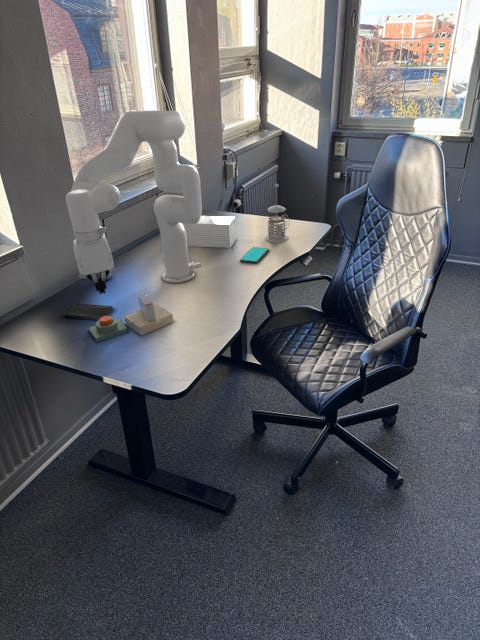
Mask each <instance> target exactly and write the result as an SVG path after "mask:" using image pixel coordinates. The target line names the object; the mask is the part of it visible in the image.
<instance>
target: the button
mask: <svg viewBox="0 0 480 640" xmlns="http://www.w3.org/2000/svg"><path fill="white" fill-rule="evenodd" d="M111 317H112V316H110V315H108V316H103V317H101V318H100V324H101V326H107V325H110V324H112V318H113V317H112V318H111Z"/></svg>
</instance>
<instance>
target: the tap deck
mask: <svg viewBox="0 0 480 640" xmlns="http://www.w3.org/2000/svg"><path fill="white" fill-rule="evenodd" d="M153 305H154V311H155V317H156V320H154V321H150V322H148V321H147V319H146V318H145V316H144V315H143V313H142V312H141V310H140V307H137V308H136V309H137V310H136V311H134V312H131V313H129V314H127V315H124V316H123V317H124V323H125V324H124V325H125V326H126V327H128V328H130V329H131V330H132V331H134V332H136V333H137V334H138V335H139V336H141V337H142V336H144V335H145V334H148V333H150V332H153V331H155V330H158V329H160V328H163V327H165V326H167V325H169V324H171V323H174V317H173V313H172V312H170V311H168V310H167V309H166V307H163V306H162V307H161V306H160V305H158V304H157V303H153Z"/></svg>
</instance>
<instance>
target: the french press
mask: <svg viewBox="0 0 480 640" xmlns="http://www.w3.org/2000/svg"><path fill="white" fill-rule="evenodd" d="M273 187H275V192H276V193H275V205H272V206H270V207H268V208H267V212H268V213H272V214H275V215H271V216H269V217H268V221H267V227H268V228H267V236H266V238H265V240H266V241H267V242H269V243H277V244H278V243H284V242H286V241H288V237H287V236H286V230H287V228H289V227H290V225H288V223H290V218H289V216H288V215H287V213H284V212H285V211H286V210H287V208H285V207H284V206H282V205H279V204H278V196H277V195H278V191H277V188H278V187H280V185H279V183H275V184H274V185H273ZM280 213H283V214H282V215H278V214H280ZM286 217H287V218H286ZM287 219H288V220H287Z"/></svg>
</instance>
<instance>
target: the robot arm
mask: <svg viewBox="0 0 480 640" xmlns="http://www.w3.org/2000/svg"><path fill="white" fill-rule="evenodd" d="M185 130H186V122H185V118H184V116H183V115H182V114H181V113H180V112H178V111H176V110H141V111H139V110H137V111H134V110H133V111H132V110H131V111H126V112H124V113H123V114H122V115H121V116H120V117H119V119H118V121H117V123H116V125H115V127H114V129H113V131H112V133H111V135H110V137H109V139H108V142H107V143H106V145H105V147H104V149H102V150H101V151H100V152H98V153H97V154H95V155H94V156H93V157H91V158H90V159H89V160H88V161H87V162H86V163H84V164H83V165H82V167H81V168H80V170H79V171H78V172H77V175H76V176H75V179H74V181H73V183H72V186H71V190H70V191H68V192H67V193H66V195H65V202H66V208H67V211H68V214H69V219H70V222H71V227H72V230H73V235H74V238H75V239H74V240H73V241H72V245H73V246H72V247H73V253H74V259H75V264H76V268H77V270H78V277H79V279H82V280H83V279H88V280H90V281H92V282H93V283H94V287H95V291H96V292H98V293H99V295H102V294H106V290H107V284H106V280H107V279H106V277H107V276H108V274H109V273H111V272H112V273H113V272H115V271H116V270H117V269H116V267H115V262H114V259H113V253H112V251H111V248H110V245H109V242H108V239H107V237H106V235H105V234H104V233H107V232H108V229H107V226H101V221H100V217H99V214H100V213H104V212H109V211H112V210H114V209H116V208H117V207H118V206H119V204H120V202H121V198H122V197H121V196H122V195H121V192H120V189H119V188H118V187H117V186H115V185H114V184H112V183H107V182H101V181H102V180H103V179H104V178H106V177H107V176H110V175H113V174H115V173H118V172H120V171H123V170H125V169H127V168H129V167H130V166H132V164H133V161H134V159H135V157H136V155H137V154H138V151H139V148H140V146H141V145H142V143H145V142H147V144H148V146H149V148H150V151H151V155H152V160H153V171H154V179H155V184H156V188H157V189H158V190H160V191H162V192H166V193H176V194H182V195H174V194H164V195H160V196H159V197H157V198H156V199H155V201H154V205H153V212H154V215H155V218H156V222H157V225H158V229H159V235H160V241H161V247H162V248H161V249H162V255H163V256H162V257H163V264H164V271H163V272H162V274H161V278H162V280H163V281H164V282H166V283H170V284H180V283H184V282H187V281H191V280H192V279H193V278H194V277H195V271H194V270H195V269H199V268H201V267H202V264H201V262H195V261H192V262H190V257H189V246H187V237H186V231H185V228H184V226H183V225H182V223H183V224H196V223H197V222H199V220H200V218H201V216H202V213H203V205H202V188H201V187H202V185H201V177H200V173H199V171H198V169H197V168H196V167H195V166H194V165H191V164H183V163H180V162H179V155H178V149H177V146H176V143H175V141H176V140H179V139H181V138H182V137H183V135H184V134H185ZM98 272H100V277H99V279H98V278H97V277H96V275H95V273H98Z"/></svg>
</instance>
